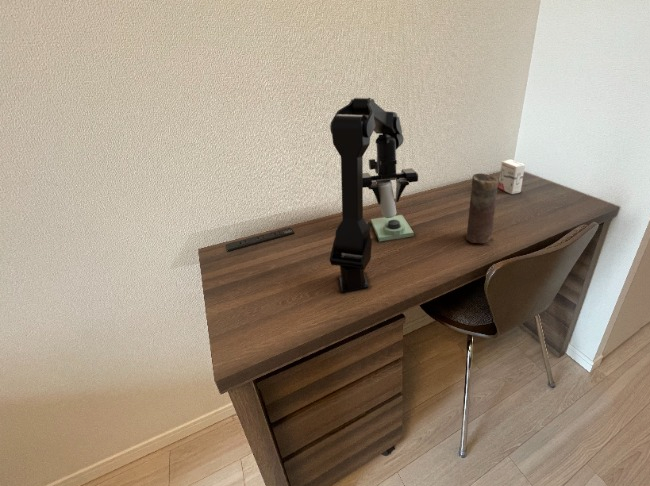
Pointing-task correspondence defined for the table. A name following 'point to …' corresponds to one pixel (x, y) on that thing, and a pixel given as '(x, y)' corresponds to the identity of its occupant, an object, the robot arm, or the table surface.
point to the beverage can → (386, 199)
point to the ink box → (511, 176)
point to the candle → (482, 208)
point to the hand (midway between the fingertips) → (388, 202)
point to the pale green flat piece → (390, 234)
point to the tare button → (393, 224)
